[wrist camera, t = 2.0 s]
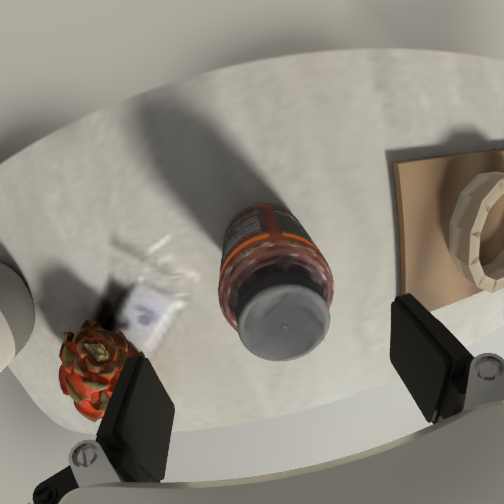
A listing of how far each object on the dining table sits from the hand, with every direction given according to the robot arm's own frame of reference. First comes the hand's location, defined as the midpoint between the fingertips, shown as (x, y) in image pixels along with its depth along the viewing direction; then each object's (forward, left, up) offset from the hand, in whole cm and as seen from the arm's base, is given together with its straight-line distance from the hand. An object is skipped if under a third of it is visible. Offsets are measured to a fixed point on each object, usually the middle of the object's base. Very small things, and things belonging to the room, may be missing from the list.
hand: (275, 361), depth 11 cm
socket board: (-16, +14, -13) cm, 26 cm away
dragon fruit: (+18, -2, -14) cm, 22 cm away
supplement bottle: (0, 0, -14) cm, 14 cm away
